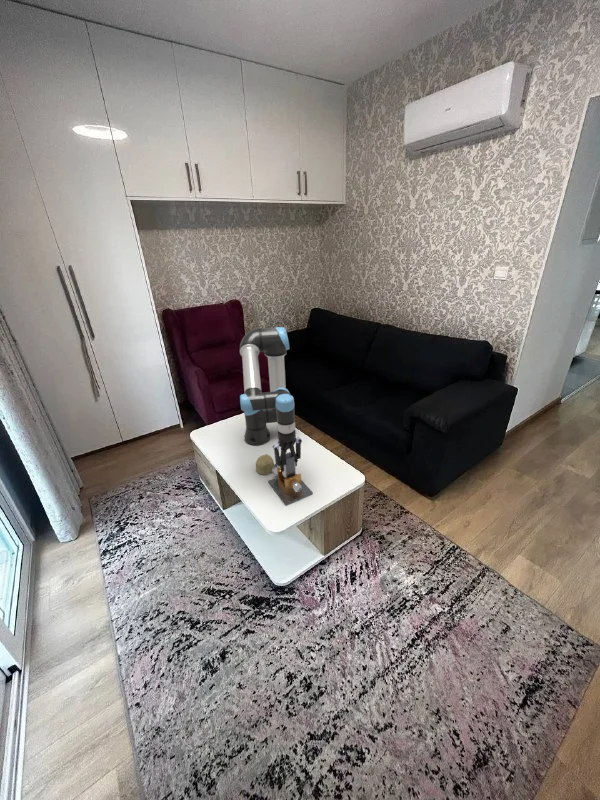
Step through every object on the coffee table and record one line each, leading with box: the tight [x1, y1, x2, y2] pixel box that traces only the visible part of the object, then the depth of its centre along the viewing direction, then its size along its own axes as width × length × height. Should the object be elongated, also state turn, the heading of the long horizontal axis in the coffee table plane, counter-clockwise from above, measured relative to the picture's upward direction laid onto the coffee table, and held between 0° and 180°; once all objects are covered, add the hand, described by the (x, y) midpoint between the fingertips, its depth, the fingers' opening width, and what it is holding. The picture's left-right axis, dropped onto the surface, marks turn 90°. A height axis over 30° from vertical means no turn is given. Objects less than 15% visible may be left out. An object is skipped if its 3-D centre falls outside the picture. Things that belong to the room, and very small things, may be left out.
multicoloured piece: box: [267, 463, 314, 507], centre depth 152 cm, size 22×14×12 cm, turn 29°
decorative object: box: [255, 454, 275, 476], centre depth 165 cm, size 9×10×10 cm
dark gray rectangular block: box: [284, 452, 295, 479], centre depth 148 cm, size 4×4×12 cm
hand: (289, 473), depth 150 cm, fingers closed on dark gray rectangular block, 4 cm apart
